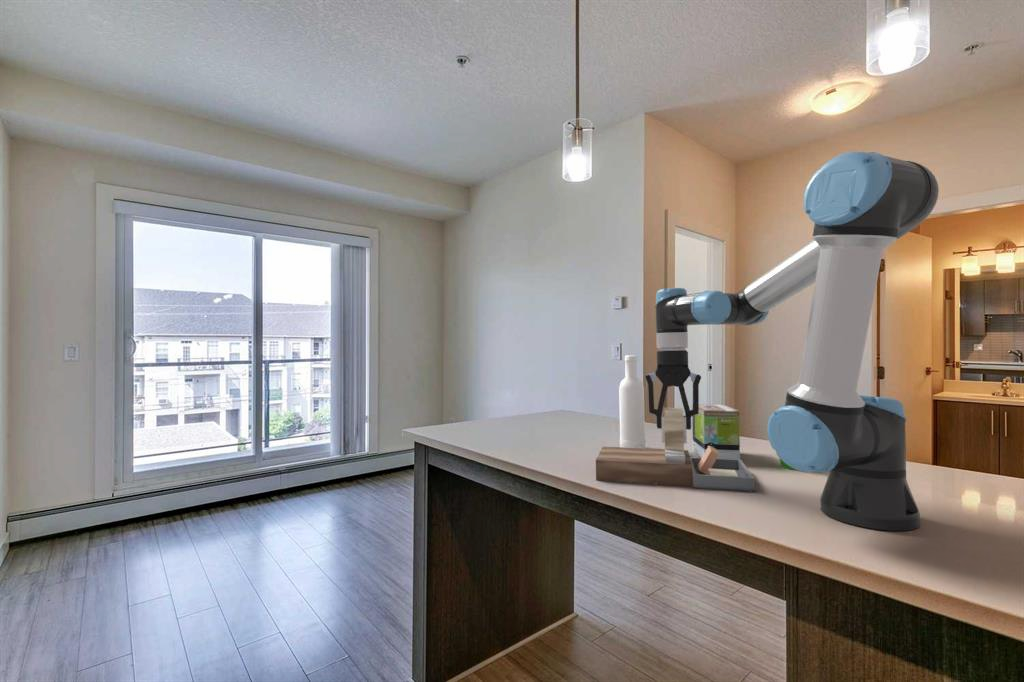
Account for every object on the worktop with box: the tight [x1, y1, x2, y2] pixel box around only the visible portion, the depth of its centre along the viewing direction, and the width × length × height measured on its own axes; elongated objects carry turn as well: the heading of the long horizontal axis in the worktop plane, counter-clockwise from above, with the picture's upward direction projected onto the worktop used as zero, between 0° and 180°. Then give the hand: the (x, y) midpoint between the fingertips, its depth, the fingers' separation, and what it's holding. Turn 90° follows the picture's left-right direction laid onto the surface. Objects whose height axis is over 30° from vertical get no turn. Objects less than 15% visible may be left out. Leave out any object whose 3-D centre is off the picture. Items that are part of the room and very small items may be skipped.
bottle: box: [618, 354, 646, 448], centre depth 151 cm, size 8×8×30 cm
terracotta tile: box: [698, 446, 719, 475], centre depth 120 cm, size 6×6×2 cm
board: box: [595, 446, 693, 487], centre depth 121 cm, size 16×22×5 cm
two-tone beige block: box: [663, 407, 685, 465], centre depth 119 cm, size 16×4×12 cm, turn 163°
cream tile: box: [708, 469, 739, 477], centre depth 112 cm, size 6×6×2 cm
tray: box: [690, 456, 756, 493], centre depth 116 cm, size 18×13×3 cm
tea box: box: [691, 404, 741, 460], centre depth 139 cm, size 15×10×15 cm, turn 171°
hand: (674, 441), depth 119 cm, fingers closed on two-tone beige block, 4 cm apart
